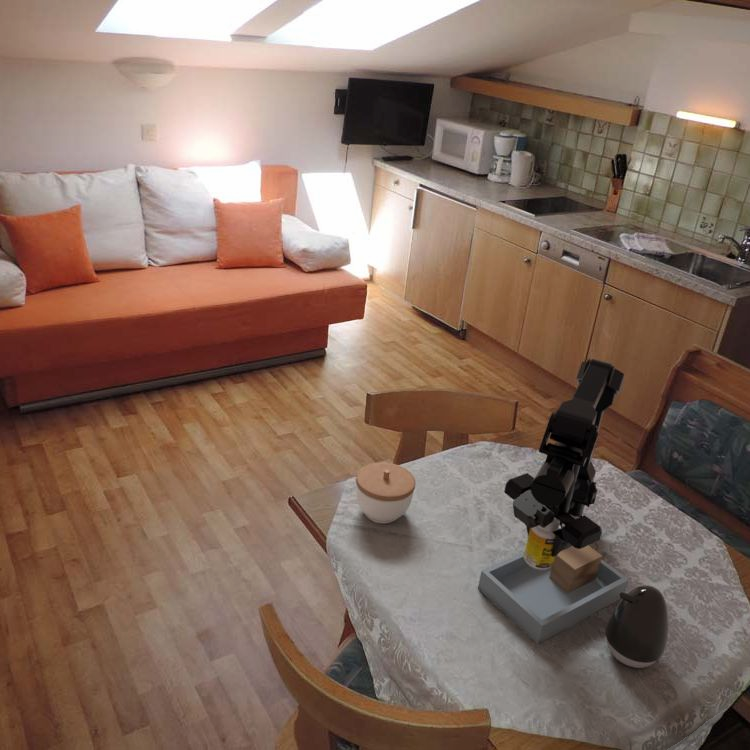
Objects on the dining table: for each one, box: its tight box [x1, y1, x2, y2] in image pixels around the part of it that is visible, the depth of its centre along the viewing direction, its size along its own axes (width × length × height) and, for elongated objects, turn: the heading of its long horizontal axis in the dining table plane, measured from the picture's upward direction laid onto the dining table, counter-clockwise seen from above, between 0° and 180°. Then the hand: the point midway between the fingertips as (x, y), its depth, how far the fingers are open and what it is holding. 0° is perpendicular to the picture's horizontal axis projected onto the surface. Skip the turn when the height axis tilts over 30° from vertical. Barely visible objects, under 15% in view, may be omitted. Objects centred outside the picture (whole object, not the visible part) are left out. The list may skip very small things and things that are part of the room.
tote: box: [477, 543, 630, 645], centre depth 146 cm, size 24×16×4 cm, turn 125°
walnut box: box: [549, 545, 603, 593], centre depth 148 cm, size 8×5×6 cm, turn 125°
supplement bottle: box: [523, 519, 562, 570], centre depth 138 cm, size 6×6×10 cm
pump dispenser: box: [604, 584, 670, 669], centre depth 131 cm, size 10×10×15 cm
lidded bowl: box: [355, 461, 416, 524], centre depth 162 cm, size 13×13×11 cm
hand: (542, 546), depth 139 cm, fingers closed on supplement bottle, 6 cm apart
